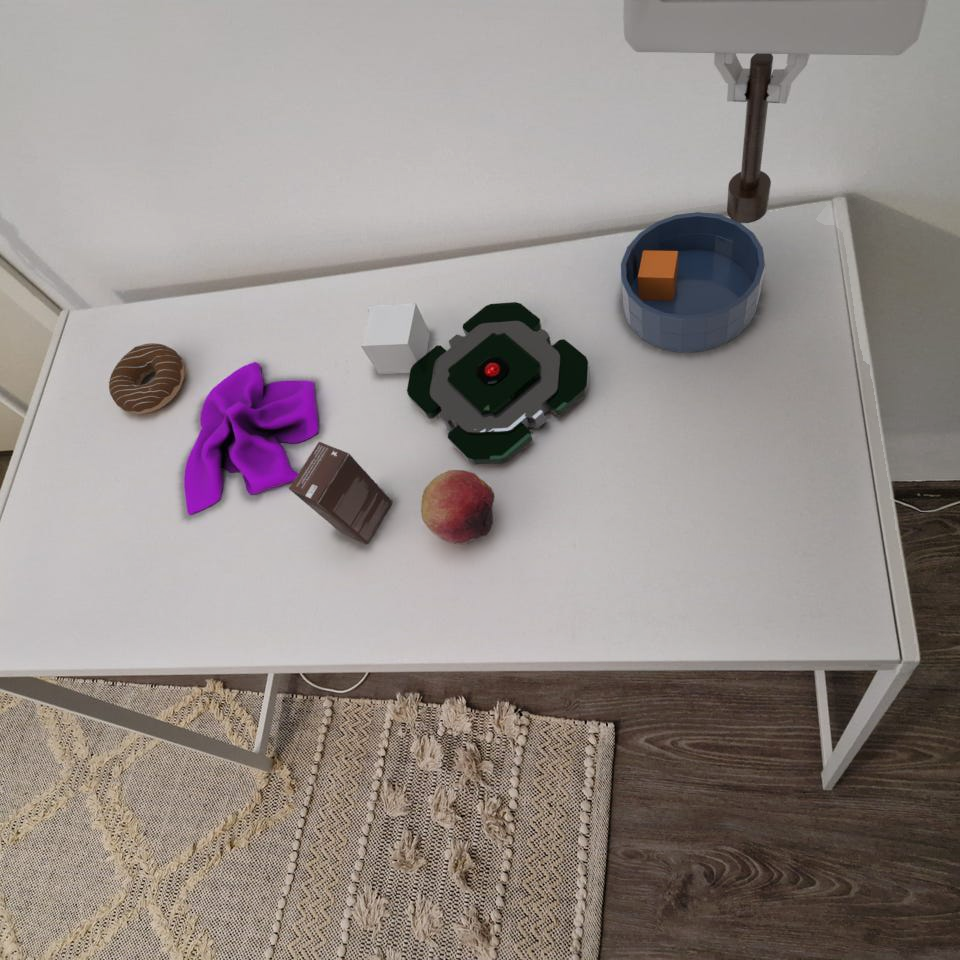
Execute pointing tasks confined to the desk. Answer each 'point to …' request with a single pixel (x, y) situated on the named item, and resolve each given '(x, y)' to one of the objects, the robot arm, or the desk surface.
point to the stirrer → (752, 149)
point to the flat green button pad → (498, 382)
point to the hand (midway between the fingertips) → (757, 97)
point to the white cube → (395, 337)
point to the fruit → (458, 506)
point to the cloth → (248, 434)
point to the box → (341, 492)
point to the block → (658, 275)
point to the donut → (136, 368)
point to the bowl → (696, 282)
